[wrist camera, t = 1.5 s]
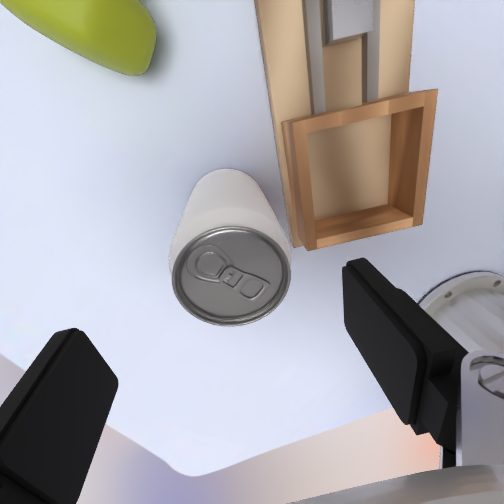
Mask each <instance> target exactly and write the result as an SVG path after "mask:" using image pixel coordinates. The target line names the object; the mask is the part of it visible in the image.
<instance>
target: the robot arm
mask: <svg viewBox="0 0 504 504" xmlns="http://www.w3.org/2000/svg"><path fill="white" fill-rule="evenodd" d="M342 280H343V304H344V323H345V327H346V330H347V332H348V333H349V335H350V337H351V338H352V340H353V342H354V343H355V345H356V347H357V348H358V350H359V352H360V353H361V355H362V357H363V358H364V360H365V362H366V363H367V365H368V367H369V368H370V370H371V372H372V373H373V375H374V377H375V378H376V380H377V382H378V383H379V385H380V386H381V388H382V390H383V391H384V393H385V395H386V396H387V398H388V400H389V401H390V403H391V405H392V406H393V408H394V409H395V411H396V413H397V415H398V416H399V418H400V419H401V421H402V422H403V423H404V424H405V425H408V424H410V426H411V427H412V429H413V430H414V432H415V434H416V435H420V434H424V433H428V432H429V433H430V434H431V436H432V437H433V439H434V440H435V442H436V443H437V444H439V445H440V462H439V469H438V470H431V471H426V472H420V473H416V474H411V475H407V476H403V477H398V478H393V479H389V480H385V481H380V482H375V483H371V484H367V485H362V486H358V487H353V488H349V489H345V490H341V491H337V492H333V493H329V494H325V495H321V496H317V497H313V498H309V499H305V500H300V501H296V502H292V503H288V504H504V278H503V277H502V276H500V275H497V274H495V273H491V272H473V273H469V274H465V275H461V276H459V277H456V278H453V279H451V280H449V281H447V282H445V283H443V284H442V285H440V286H439V287H437V288H436V289H434V290H433V291H432V292H431V293H430V294H428V295H427V296H426V297H425V298H424V299H423V300H422V301H421V303H420V304H419V305H418V304H417V303H416V302H415V301H414V300H413V299H412V298H411V297H410V296H409V295H408V294H407V293H405V292H404V291H403V290H402V289H398V288H396V287H394V286H393V285H392V284H391V283H390V282H389V281H388V280H387V279H386V278H385V277H384V276H383V275H382V274H381V273H380V272H379V271H378V270H377V269H376V268H375V267H374V266H373V265H372V264H371V263H370V262H369V261H368V260H367V259H365V258H359V259H355V260H351V261H348V262H347V264H346V266H344V267H343V268H342ZM117 389H118V379H117V377H116V375H115V374H114V373H113V371H112V370H111V368H110V367H109V366H108V364H107V363H106V362H105V360H104V359H103V357H102V356H101V355H100V353H99V352H98V351H97V349H96V348H95V346H94V345H93V344H92V342H91V341H90V340H89V338H88V337H87V335H86V334H85V333H84V332H83V331H80V330H79V329H77V328H71V329H67V330H63V331H59V332H56V333H55V334H54V335H53V336H52V337H51V338H50V340H49V341H48V342H47V344H46V345H45V347H44V348H43V349H42V351H41V352H40V353H39V355H38V356H37V357H36V359H35V360H34V362H33V363H32V364H31V366H30V367H29V368H28V370H27V371H26V372H25V374H24V375H23V377H22V378H21V379H20V381H19V382H18V383H17V385H16V386H15V387H14V389H13V390H12V392H11V393H10V394H9V396H8V397H7V398H6V400H5V401H4V402H3V404H2V405H1V407H0V504H76V502H77V501H78V498H79V496H80V493H81V490H82V487H83V484H84V481H85V479H86V476H87V473H88V470H89V468H90V465H91V462H92V459H93V456H94V453H95V451H96V448H97V445H98V442H99V439H100V437H101V434H102V431H103V428H104V425H105V423H106V420H107V417H108V414H109V411H110V409H111V406H112V403H113V400H114V397H115V395H116V392H117Z"/></svg>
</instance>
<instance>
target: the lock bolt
mask: <svg viewBox="0 0 504 504" xmlns="http://www.w3.org/2000/svg"><path fill="white" fill-rule="evenodd" d="M319 6H320V23H321V39H322V48H323V47H327V46H331V45H335V44H340V43H344V42H348V41H352V40H357V39H359V38H361V37H362V36H364V35H366V34H368V33H369V32H371V31H373V0H319Z"/></svg>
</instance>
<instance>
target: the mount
mask: <svg viewBox="0 0 504 504" xmlns="http://www.w3.org/2000/svg"><path fill="white" fill-rule="evenodd" d="M254 2H255V8H256V15H257V22H258V28H259V35H260V42H261V48H262V55H263V61H264V68H265V75H266V81H267V88H268V95H269V101H270V108H271V115H272V121H273V128H274V134H275V141H276V148H277V154H278V161H279V168H280V174H281V181H282V188H283V194H284V201H285V207H286V214H287V221H288V227H289V234H290V241H291V244H292V246H293V247H294V248H296V247H300V246H304V247H305V248H306V250H307V251H311V250H315V249H319V248H323V247H328V246H332V245H336V244H341V243H345V242H349V241H354V240H358V239H362V238H366V237H371V236H375V235H379V234H384V233H388V232H392V231H397V230H401V229H405V228H409V227H414V226H418V225H422V223H423V214H424V205H425V197H426V188H427V180H428V171H429V162H430V154H431V145H432V136H433V128H434V119H435V111H436V102H437V93H438V89H431V90H423V91H415V92H408V91H409V76H410V62H411V48H412V33H413V19H414V5H415V0H373V31H371V32H369V33H368V34H366V35H364V36H362V37H361V38H359V39H357V40H352V41H348V42H344V43H340V44H335V45H331V46H327V47H323V48H322V39H321V23H320V6H319V0H254Z"/></svg>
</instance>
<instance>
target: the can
mask: <svg viewBox="0 0 504 504" xmlns="http://www.w3.org/2000/svg"><path fill="white" fill-rule="evenodd" d="M290 267H291V251H290V246H289V243H288V240H287V238H286V235H285V233H284V231H283V229H282V227H281V225H280V223H279V221H278V219H277V217H276V216H275V214H274V212H273V210H272V208H271V206H270V204H269V203H268V201H267V199H266V197H265V195H264V193H263V192H262V190H261V188H260V187H259V185H258V184H257V183H256V181H255V180H254V179H253V178H251V177H250V176H249V175H247V174H246V173H244V172H242V171H239V170H235V169H218V170H215V171H212V172H210V173H208V174H206V175H205V176H203V177H202V178H201V179H200V180H199V181H198V182H197V184H196V185H195V187H194V189H193V191H192V193H191V196H190V198H189V200H188V203H187V205H186V208H185V210H184V213H183V215H182V218H181V220H180V223H179V225H178V228H177V230H176V233H175V236H174V238H173V241H172V245H171V248H170V254H169V268H170V273H171V276H172V286H173V290H174V293H175V295H176V297H177V299H178V301H179V302H180V304H181V305H182V306H183V307H184V309H185V310H187V311H188V312H189V313H190V314H191V315H193V316H194V317H196V318H198V319H200V320H202V321H204V322H207V323H210V324H213V325H218V326H240V325H246V324H249V323H252V322H255V321H258V320H260V319H262V318H263V317H265V316H267V315H268V314H270V313H271V312H272V311H273V310H275V309H276V308H277V307H278V305H279V304H280V303H281V302H282V300H283V299H284V297H285V295H286V293H287V291H288V288H289V285H290V279H291V270H290Z"/></svg>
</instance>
